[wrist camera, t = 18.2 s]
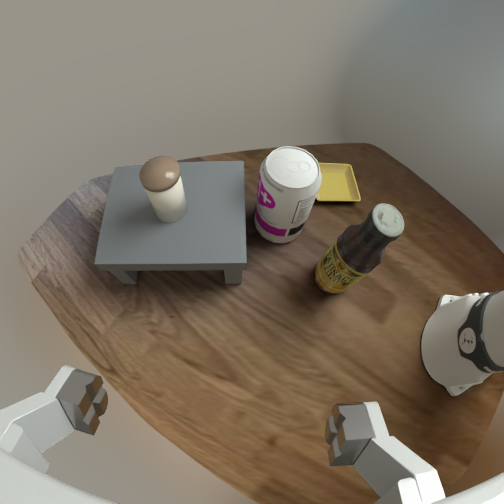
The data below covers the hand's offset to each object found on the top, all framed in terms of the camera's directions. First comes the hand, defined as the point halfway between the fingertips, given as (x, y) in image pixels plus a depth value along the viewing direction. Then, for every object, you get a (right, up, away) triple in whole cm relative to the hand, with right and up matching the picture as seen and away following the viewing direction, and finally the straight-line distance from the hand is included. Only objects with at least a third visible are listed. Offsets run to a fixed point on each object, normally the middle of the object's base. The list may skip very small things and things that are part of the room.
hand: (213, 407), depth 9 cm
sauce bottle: (+14, +1, +38) cm, 41 cm away
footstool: (-10, +7, +39) cm, 41 cm away
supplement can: (+6, +10, +42) cm, 43 cm away
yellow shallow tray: (+16, +17, +46) cm, 52 cm away
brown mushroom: (-10, +11, +30) cm, 33 cm away
